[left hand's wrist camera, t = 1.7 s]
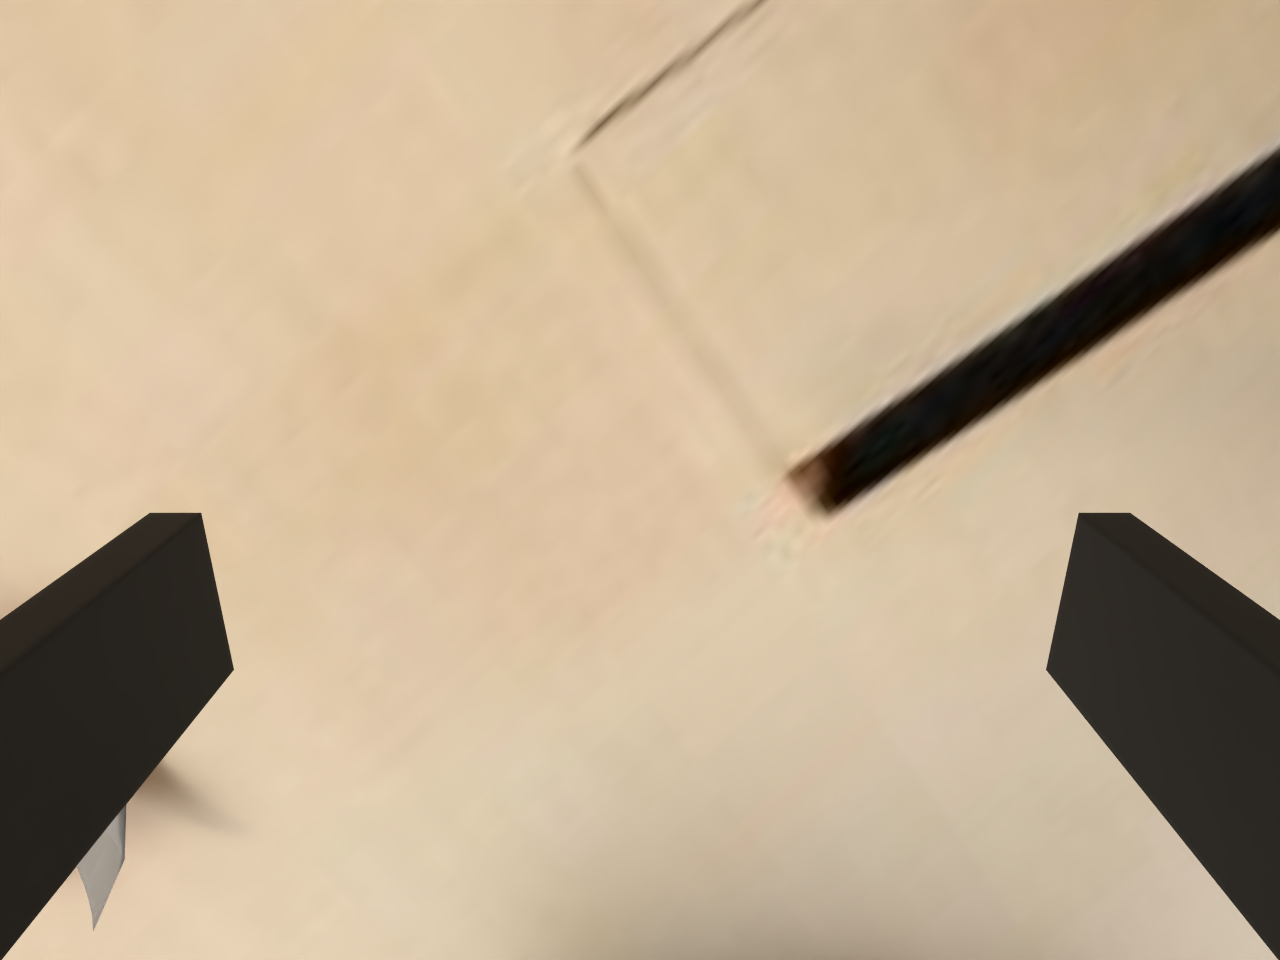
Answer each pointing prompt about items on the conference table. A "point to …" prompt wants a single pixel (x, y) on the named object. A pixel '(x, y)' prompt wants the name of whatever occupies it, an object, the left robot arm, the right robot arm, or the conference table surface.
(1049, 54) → the conference table surface
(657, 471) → the conference table surface
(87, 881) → the fish
